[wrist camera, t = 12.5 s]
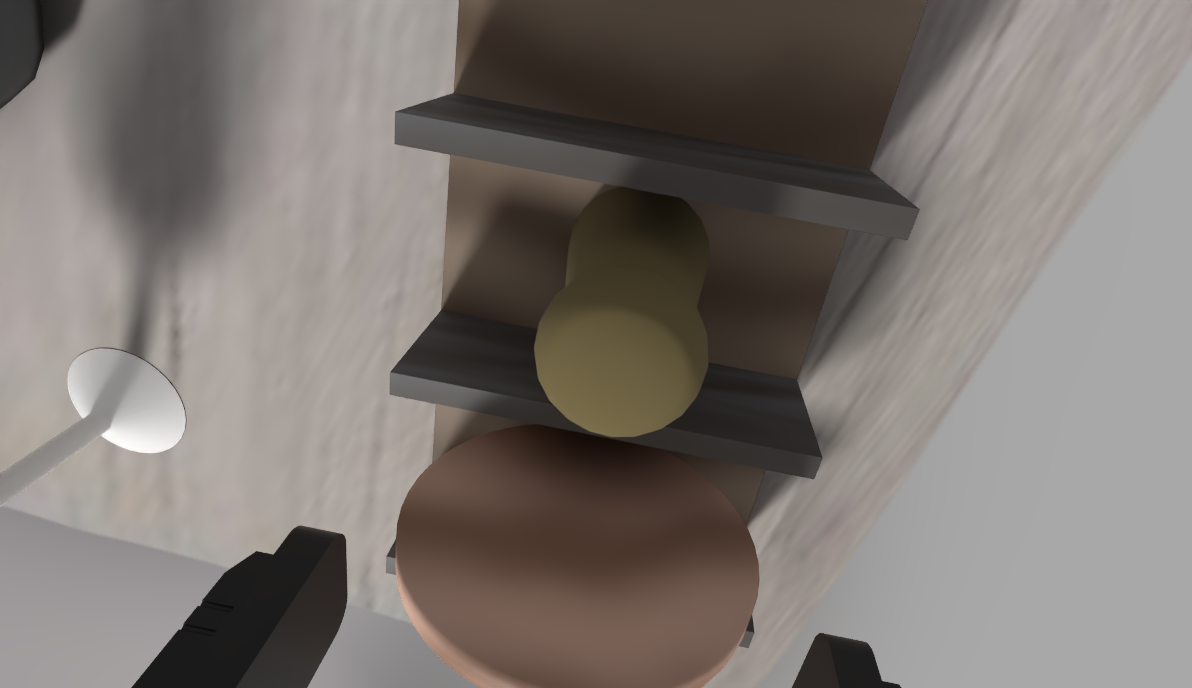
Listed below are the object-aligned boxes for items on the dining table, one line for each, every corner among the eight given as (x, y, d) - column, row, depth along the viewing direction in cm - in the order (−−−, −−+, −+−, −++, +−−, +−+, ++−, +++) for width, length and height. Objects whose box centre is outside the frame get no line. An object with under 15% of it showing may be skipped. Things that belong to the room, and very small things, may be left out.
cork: (664, 155, 26) (656, 236, 16) (735, 279, 28) (765, 419, 18) (540, 230, 28) (466, 342, 18) (614, 342, 30) (583, 498, 20)
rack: (480, -210, 22) (187, -551, 9) (961, -128, 22) (1402, -360, 9) (436, 480, 36) (293, 751, 23) (734, 540, 35) (768, 855, 22)
